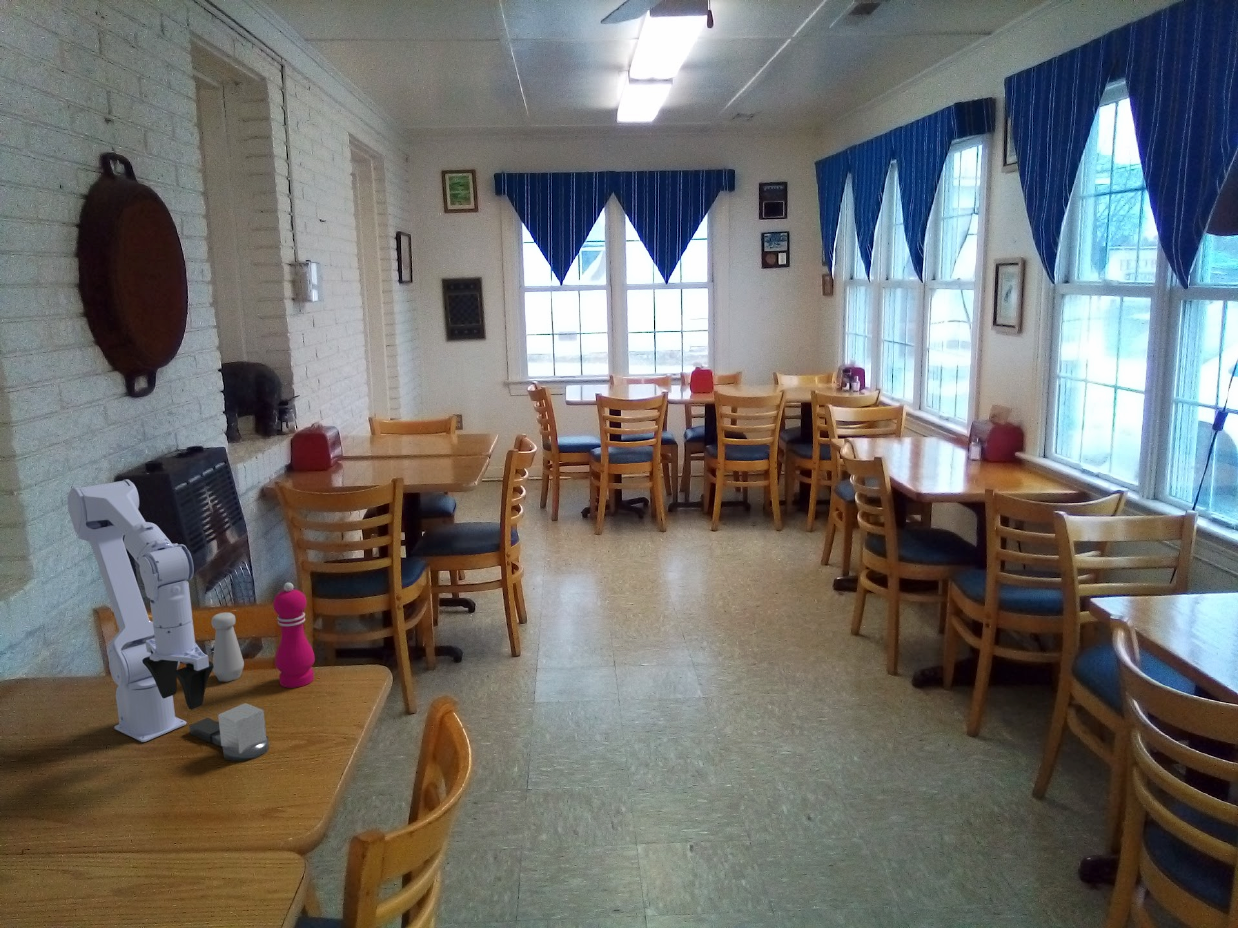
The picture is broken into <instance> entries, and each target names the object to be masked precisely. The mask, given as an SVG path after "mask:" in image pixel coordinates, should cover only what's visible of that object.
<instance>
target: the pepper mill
mask: <svg viewBox="0 0 1238 928" xmlns="http://www.w3.org/2000/svg"><path fill="white" fill-rule="evenodd" d="M272 603H273V604H272V606H273V607H272V608H273V610H274V612H275V613H276V614H277V615H278V616H277V625H279V626H280V630H281V632H280V633H281V639H280V643H279V645H278V648H277V650H276V654H275V659H274V660H275V661H274V663H275V667H276V669H277V670H278V671H279V672H280V673H279V676H278V677H279V684H280V686H281V687H284V688H289V689H291V688H293V689H294V688H301V687H304V686H306V685H307V686H308V685H309V684H310V683H312V682H313V681H314V679H315V677H314V676H315V675H314V669H313V668H312V666H313V665H314V663H315V661H316V658H315V657H316V656H315V653H314V650H313V647H312V645H311V643H309V641H308V638H307V637H306V634H305V630H304V623H305V621H306V618H305V616H306V613H305V612H304V611H305V609H306V607H307V598H306V596H305V594H304V593H303V592H302V591H301V590H298V589H294V585H293V583H291V582H286V583H284V585H283V590H281V591H280V592H278V593H277V594H276V595H275V597H274V599H273V602H272Z"/></svg>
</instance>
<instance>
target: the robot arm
mask: <svg viewBox="0 0 1238 928" xmlns="http://www.w3.org/2000/svg"><path fill="white" fill-rule="evenodd" d="M139 508H140V495H139V492H138V489H137V487H136V485H135V483H134V482H132V481H131V480H130V479H123V480H119V481H114V482H108V483H107V482H106V483H101V484H95V485H94V484H93V485H88V486H82V487H72V488H71V489H70V490H69V492H68V495H67V509H68V514H69V517H70V520H71V523H72V526H73V529H74V532H75V533H76V536H77V538H78V539H79V540H83V541H86V542H88V543H89V545H90V546H91V549H92V551H93V554H94V557H95V560H96V562H97V563H96V564H97V565H98V569H99V572H100V574H101V578H102V580H103V583H104V587H105V589H106V593H107V597H108V599H109V603H110V605H111V609H112V611H113V614H114V617H115V620H116V624H117V627H118V630H119V631H118V632H117V633H116V635H114V637H113V638H112V639H111V640H110V641H109V643H108V645H107V648H106V654H107V658H108V668H109V672H110V674H111V678H112V680H113V682H114V683H115V684H116V685H117V688H116V689H115V690H116V691H115V698H116V699H115V700H116V707H117V715H118V716H117V717H118V724H117V725H115V726H114V727H113V728H114V730H116V731H118V732H119V733H120V732H121V733H122V734H124V735H126V736H129V737H131V738H134V739H135V740H137V741H139V742H141V743H145V742H147V741H150V740H151V741H152V740H154V739H155V738H158V737H159V736H160V737H161V736H162V735H165V734H166V733H169V732H171V731H173V730H176V729H178V728H181V727H183V726H185V725H187V721H186V720H184V719H181V718H179V717H177V716H176V713H175V704H174V697H173V696H175V695H176V694H177V690H178V689H177V688H178V681H179V684H180V686H181V688H182V691H183V695H184V699H185V704H186V707H187V708H188V709H189V710H194V709H197V708H199V707H203V705H204V698H205V694H206V693H205V692H206V687H207V684H208V680H209V678H210V675H211V673H212V672H213V671H212V670H213V668H214V665H213V661H209V655H208V654H205V653H204V652H203V651H202V649H201V648H200V647H199V645H198V644H197V643H196V639H195V638H196V637H195V630H194V622H193V621H194V620H193V613H192V603H191V602H192V601H191V594H190V584H189V581H190V580H192V579H193V577H194V572H195V569H194V568H195V567H194V561H193V557H192V554H191V552H190V550H189V549H188V548H187V546H186V545H185V544H182V543H181V544H178V543H172V542H171V540H170V539H169V538H168V537H167V536H166V534H165V533H164V532H163V531H162V529H161V528H160V527H159V526H158V525H157V524H155V523H153V522H149V521H146V519H144V517H143V515H142V514H141V512H140V510H139ZM127 551H128V552H129V554H130V555H131V556H132V557H133V559H134V560H135V561H136V562H137V564H138V565H139V572H140V573H139V574H140V576H141V577H140V578H141V579H142V582H143V584H144V585H143V586H144V591H145V594H146V597H147V599H149V602H150V611H151V619H152V621H151V620H150V618H149V615H148V611H147V608H146V606H145V602H144V600H143V596H142V594H141V590H140V587H139V585H138V582H137V579H136V576H135V573H134V570H133V567H132V564H131V561H130V558H129V555H128V553H127ZM188 580H189V581H188ZM180 663H184V664H185V666H184V667H182V668H179V667H180V665H181V664H180ZM178 668H179V669H178ZM177 679H178V680H177Z"/></svg>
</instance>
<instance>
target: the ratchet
mask: <svg viewBox="0 0 1238 928" xmlns="http://www.w3.org/2000/svg"><path fill="white" fill-rule="evenodd" d="M188 727H189V733H190V735H191V736H194V737H196V738H199V739H200V740H203V741H206V742H207V743H209V744H211V743H212V744H214V745H215V746H218V747H221V748H222V752H223V758H224V759H225V760H227V761H231V762H245V761H250V760H251V761H252V760H253V759H256V758H259V757H261V756H263V755H264V754H265V753H267V752H268V750H269V748H270V741H269V737H268V735H266V739H267V741H266V742H264V743H262V744H260V745H257V746H255V747H253V748H251V749H249V750H247V751H245V752H243V753H241V754H239V753H237V752H234V751H232V750H230V749H228V748H225V747H223V746H221V737H220V728H219V721H216V720H214V719H211V718H210V717H205V718H203V719H200V720H199V721H196V722H194V723H191V724H189V726H188Z"/></svg>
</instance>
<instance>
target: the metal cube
mask: <svg viewBox="0 0 1238 928" xmlns="http://www.w3.org/2000/svg"><path fill="white" fill-rule="evenodd" d="M264 711H265V710H264V709H262V708H260V707H256V706H254V705H251V704H248V703H246V702H243V703H242V704H239V705H237V706H236V707H232V708H230V709H228V710H225V711H223V712H221V713H219V714H217V718H218V722H219V728H220V737H221V746H223V747H225V748H228V749H230V750H232V751H234V752H237V753H239V754H241V753H243V752H245V751H247V750H249V749H251V748H253V747H255V746H257V745H260V744H262V743H264V742H266V741H267V739H266V736H267V730H266V721H265V719H266V718H265V712H264ZM221 746H220V747H221ZM223 747H222V748H223Z"/></svg>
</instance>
